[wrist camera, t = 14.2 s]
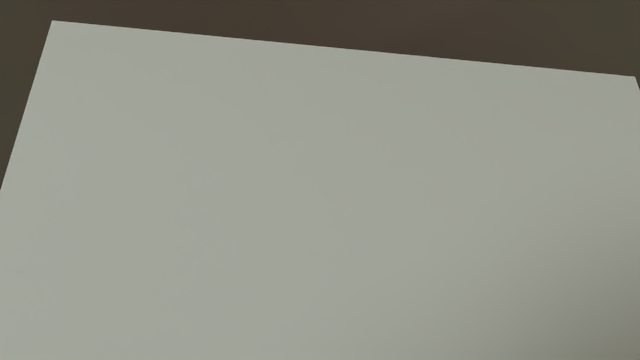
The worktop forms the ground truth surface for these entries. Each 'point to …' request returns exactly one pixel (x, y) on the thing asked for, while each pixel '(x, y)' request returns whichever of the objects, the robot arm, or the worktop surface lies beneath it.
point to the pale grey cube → (316, 205)
